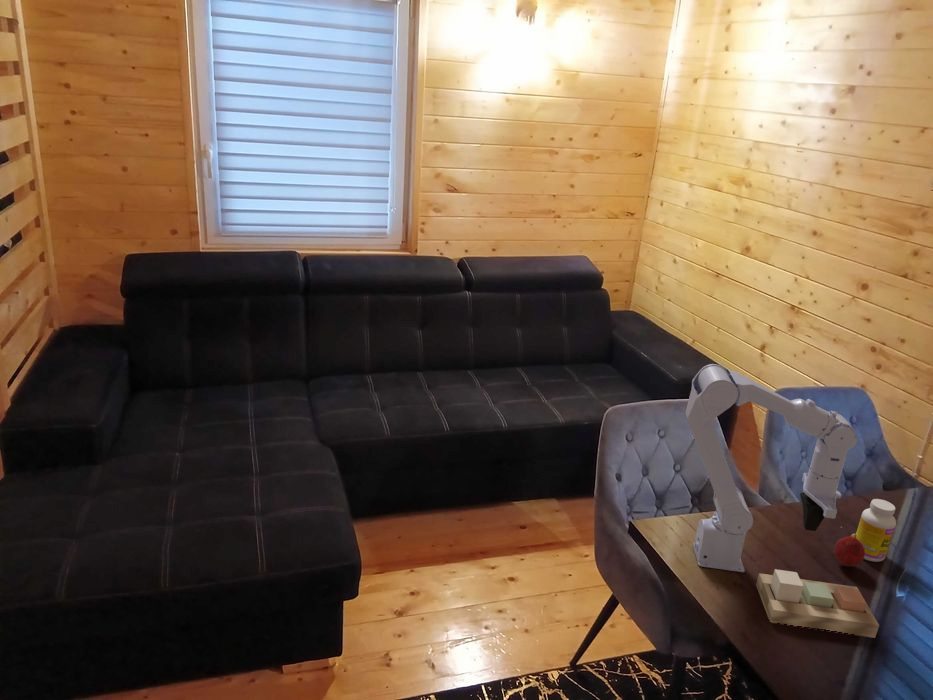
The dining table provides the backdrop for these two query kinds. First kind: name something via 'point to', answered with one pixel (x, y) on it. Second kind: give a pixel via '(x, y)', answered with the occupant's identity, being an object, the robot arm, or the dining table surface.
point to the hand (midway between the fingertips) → (809, 528)
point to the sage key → (817, 595)
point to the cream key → (786, 586)
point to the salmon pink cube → (849, 599)
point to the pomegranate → (849, 551)
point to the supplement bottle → (876, 529)
